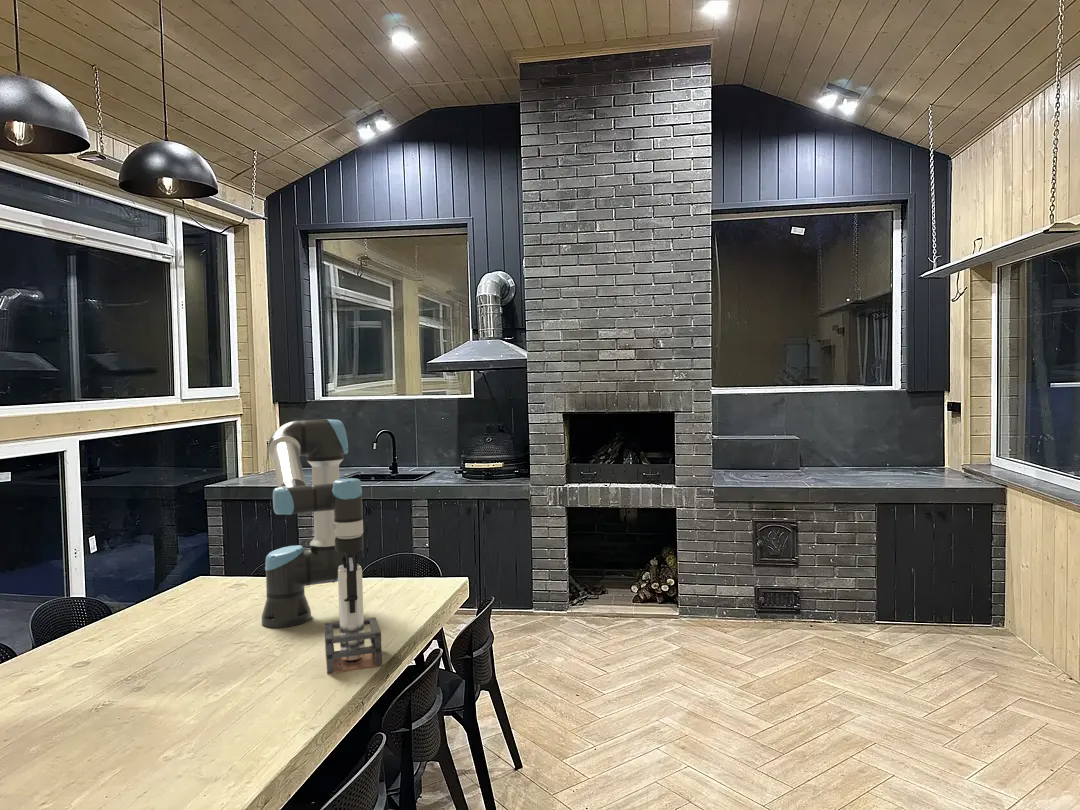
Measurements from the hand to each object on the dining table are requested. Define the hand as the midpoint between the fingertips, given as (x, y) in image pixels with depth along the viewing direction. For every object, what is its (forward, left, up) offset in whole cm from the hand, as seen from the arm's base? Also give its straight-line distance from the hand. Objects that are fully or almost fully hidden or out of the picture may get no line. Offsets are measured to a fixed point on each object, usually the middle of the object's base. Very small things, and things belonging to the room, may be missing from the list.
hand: (351, 620), depth 194 cm
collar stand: (0, 0, -11) cm, 11 cm away
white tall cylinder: (0, 0, -10) cm, 10 cm away
